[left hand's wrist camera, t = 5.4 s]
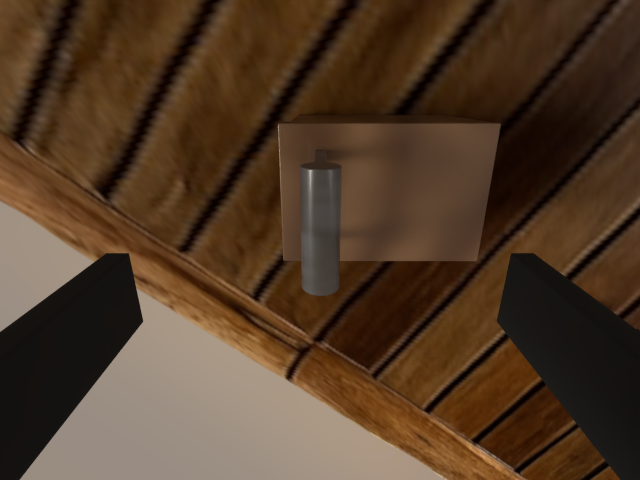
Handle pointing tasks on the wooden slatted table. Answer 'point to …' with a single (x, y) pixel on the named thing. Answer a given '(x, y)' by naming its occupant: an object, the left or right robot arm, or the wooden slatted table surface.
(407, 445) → the wooden slatted table surface
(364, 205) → the lid
